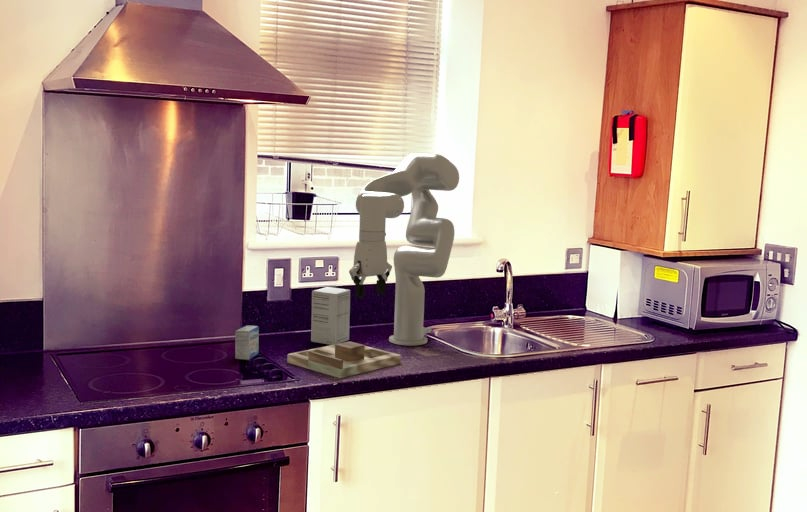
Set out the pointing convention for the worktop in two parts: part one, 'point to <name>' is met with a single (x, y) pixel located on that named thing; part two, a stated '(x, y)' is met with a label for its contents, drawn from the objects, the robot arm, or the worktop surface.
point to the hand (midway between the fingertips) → (370, 295)
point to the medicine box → (247, 342)
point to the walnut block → (349, 351)
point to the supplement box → (330, 315)
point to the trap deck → (342, 361)
